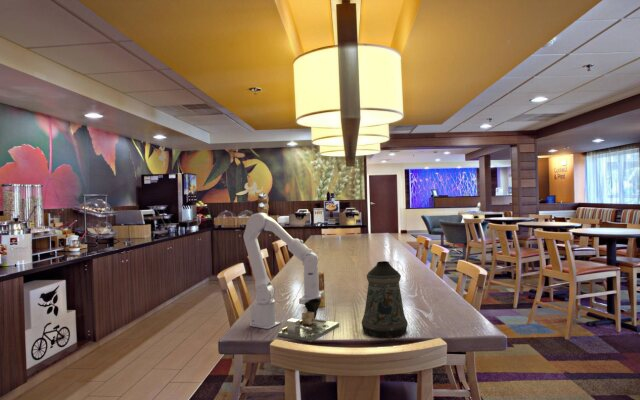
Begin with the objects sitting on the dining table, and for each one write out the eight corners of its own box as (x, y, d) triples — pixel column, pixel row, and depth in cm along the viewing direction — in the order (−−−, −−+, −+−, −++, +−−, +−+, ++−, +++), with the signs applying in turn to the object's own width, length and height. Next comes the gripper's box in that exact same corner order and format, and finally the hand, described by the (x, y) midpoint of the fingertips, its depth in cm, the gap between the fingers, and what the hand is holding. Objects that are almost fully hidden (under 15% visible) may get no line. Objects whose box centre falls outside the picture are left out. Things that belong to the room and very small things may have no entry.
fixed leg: (287, 331, 154) (286, 320, 154) (292, 329, 157) (291, 318, 157) (309, 335, 149) (308, 324, 149) (314, 333, 152) (313, 321, 152)
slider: (302, 323, 162) (301, 312, 162) (306, 321, 165) (306, 311, 165) (323, 326, 157) (323, 316, 157) (328, 324, 160) (327, 314, 160)
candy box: (324, 304, 195) (323, 271, 195) (325, 306, 191) (324, 272, 191) (305, 305, 194) (303, 272, 194) (305, 308, 190) (304, 273, 190)
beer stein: (367, 340, 146) (364, 267, 145) (356, 323, 165) (354, 259, 165) (414, 337, 147) (411, 265, 147) (398, 320, 167) (396, 257, 166)
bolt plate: (278, 335, 153) (277, 329, 153) (309, 320, 170) (308, 315, 170) (310, 342, 146) (310, 335, 146) (339, 325, 163) (339, 320, 163)
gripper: (309, 288, 157) (310, 325, 157) (329, 280, 169) (330, 314, 169) (294, 286, 161) (295, 322, 161) (314, 279, 173) (316, 312, 173)
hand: (312, 318), depth 165 cm, fingers closed
